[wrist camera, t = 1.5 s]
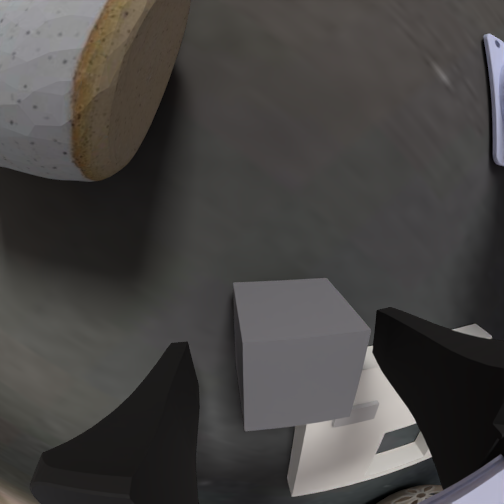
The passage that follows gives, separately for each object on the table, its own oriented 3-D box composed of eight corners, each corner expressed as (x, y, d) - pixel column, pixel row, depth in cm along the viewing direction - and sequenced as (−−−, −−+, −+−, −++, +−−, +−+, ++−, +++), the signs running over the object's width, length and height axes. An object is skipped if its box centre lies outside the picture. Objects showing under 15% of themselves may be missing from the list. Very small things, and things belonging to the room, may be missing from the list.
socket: (475, 323, 16) (495, 338, 14) (423, 442, 20) (434, 458, 18) (304, 355, 15) (316, 382, 13) (286, 478, 18) (292, 500, 16)
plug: (320, 271, 13) (370, 330, 9) (313, 344, 14) (349, 416, 10) (232, 275, 13) (242, 342, 8) (234, 350, 14) (244, 431, 9)
